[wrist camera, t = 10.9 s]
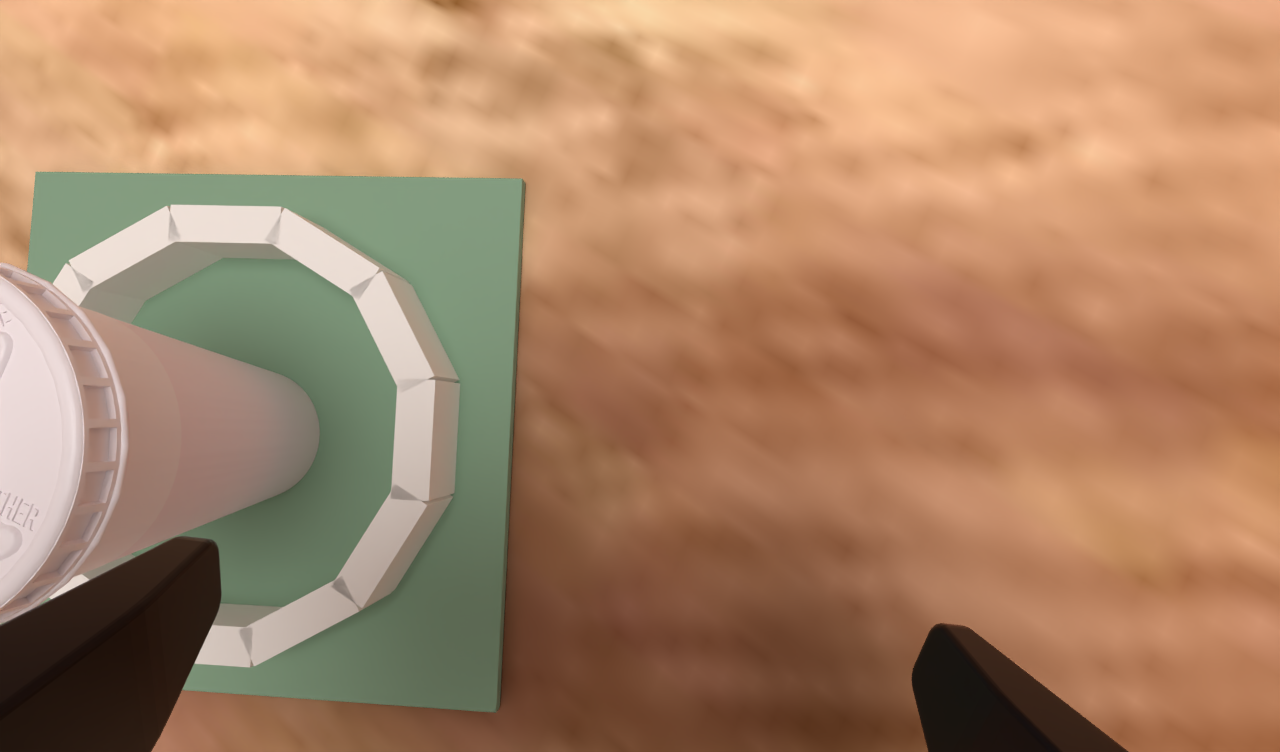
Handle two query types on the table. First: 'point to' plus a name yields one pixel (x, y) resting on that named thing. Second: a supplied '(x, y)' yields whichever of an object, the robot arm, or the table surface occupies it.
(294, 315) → the green square ring tray
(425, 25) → the table surface
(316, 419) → the smoothie
